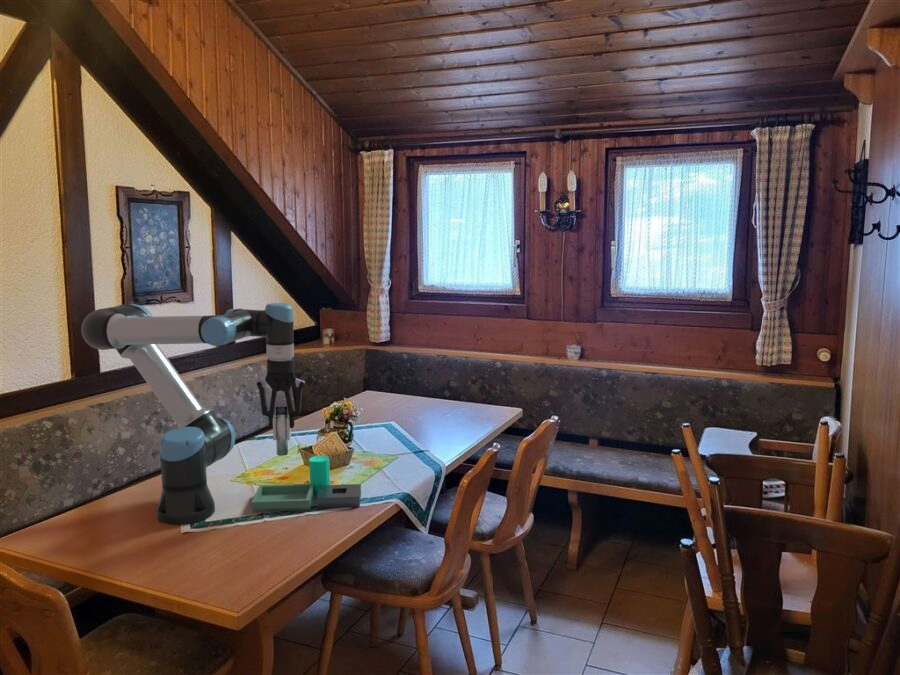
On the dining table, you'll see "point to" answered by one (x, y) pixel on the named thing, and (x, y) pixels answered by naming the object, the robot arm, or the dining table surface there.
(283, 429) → the pin
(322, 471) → the candle
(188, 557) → the dining table surface
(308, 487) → the tray
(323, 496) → the block
